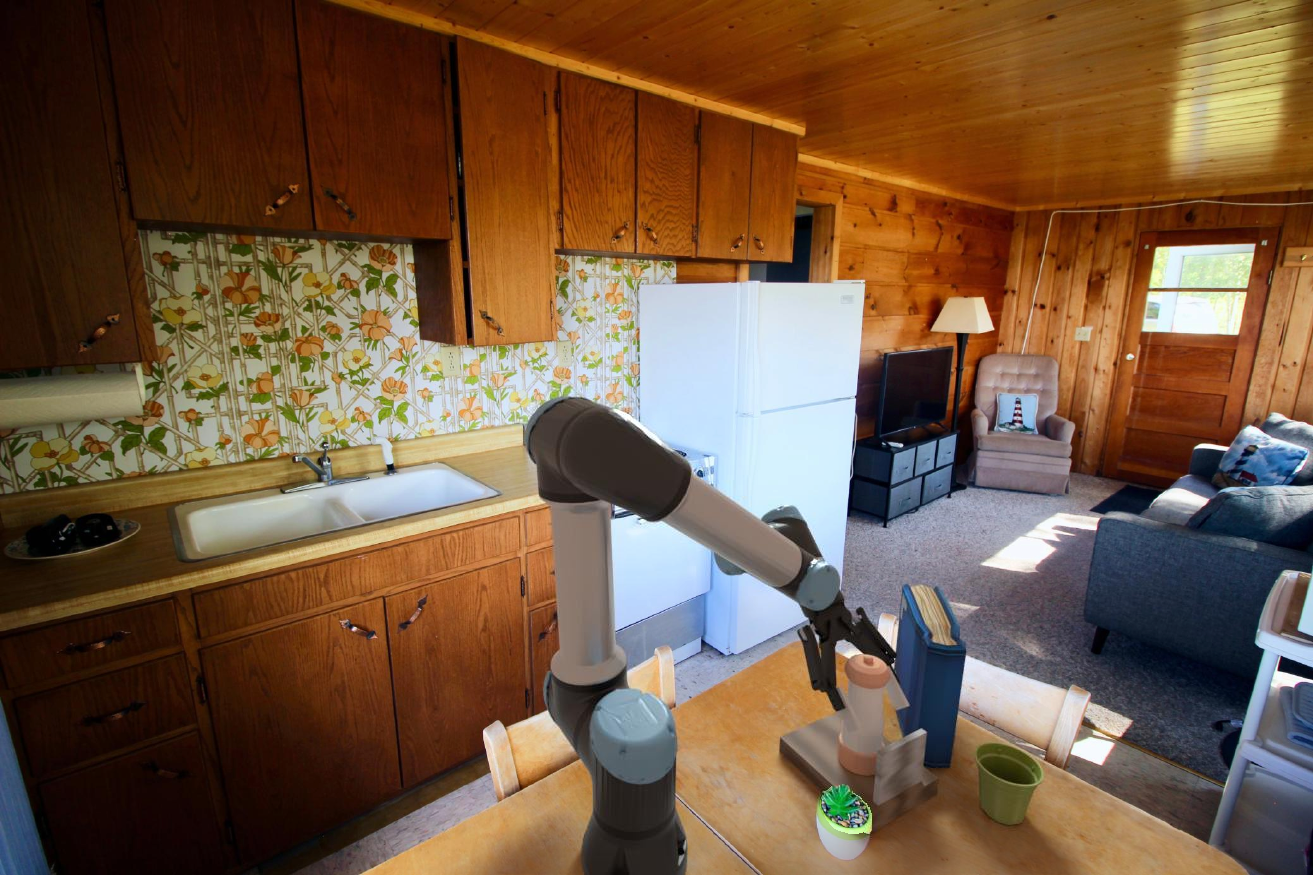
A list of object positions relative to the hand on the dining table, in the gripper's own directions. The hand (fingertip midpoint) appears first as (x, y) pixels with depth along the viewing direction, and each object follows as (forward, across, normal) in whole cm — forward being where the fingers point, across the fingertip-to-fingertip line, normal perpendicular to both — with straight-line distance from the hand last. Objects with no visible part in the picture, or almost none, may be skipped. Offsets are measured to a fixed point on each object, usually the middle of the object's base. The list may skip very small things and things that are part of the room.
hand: (879, 718), depth 98 cm
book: (+6, -18, -13) cm, 23 cm away
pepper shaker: (+5, 0, -9) cm, 11 cm away
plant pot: (+18, -14, 0) cm, 23 cm away
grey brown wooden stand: (+6, 0, -12) cm, 13 cm away
